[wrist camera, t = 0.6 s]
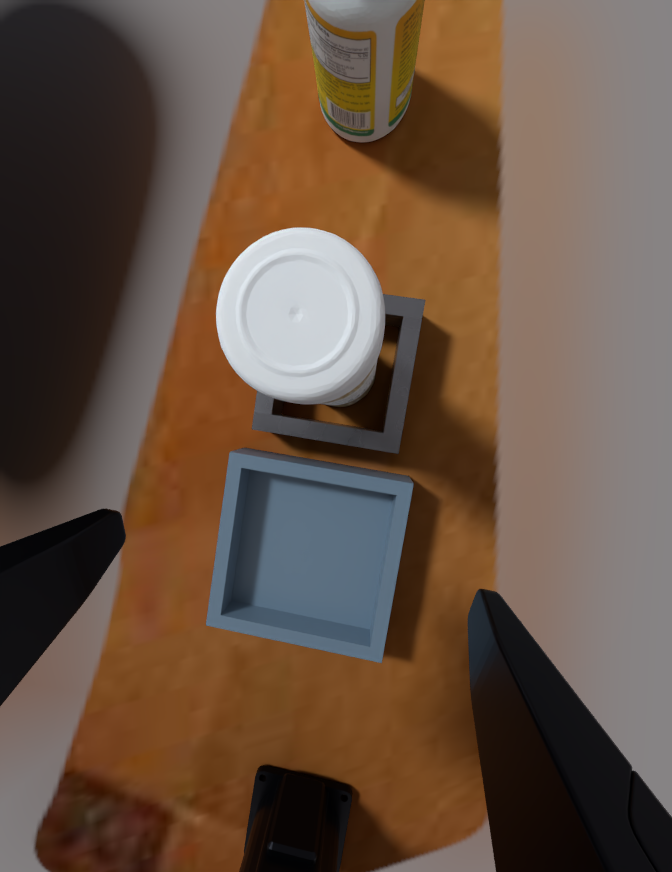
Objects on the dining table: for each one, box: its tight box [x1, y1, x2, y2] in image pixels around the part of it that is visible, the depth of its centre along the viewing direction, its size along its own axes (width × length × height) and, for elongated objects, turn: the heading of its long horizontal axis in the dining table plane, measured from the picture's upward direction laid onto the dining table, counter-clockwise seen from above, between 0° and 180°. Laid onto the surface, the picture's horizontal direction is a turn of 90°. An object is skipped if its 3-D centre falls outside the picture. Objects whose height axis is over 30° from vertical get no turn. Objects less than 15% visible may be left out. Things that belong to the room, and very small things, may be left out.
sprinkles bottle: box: [216, 228, 385, 407], centre depth 16 cm, size 5×5×14 cm
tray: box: [206, 448, 414, 663], centre depth 22 cm, size 11×11×2 cm
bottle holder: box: [252, 294, 425, 454], centre depth 21 cm, size 8×8×2 cm
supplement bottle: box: [305, 0, 425, 142], centre depth 17 cm, size 5×5×10 cm
